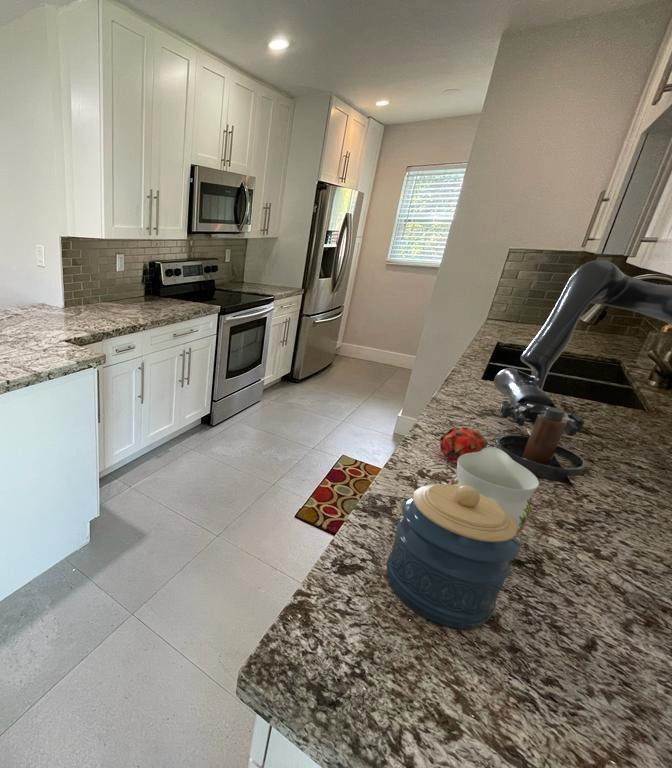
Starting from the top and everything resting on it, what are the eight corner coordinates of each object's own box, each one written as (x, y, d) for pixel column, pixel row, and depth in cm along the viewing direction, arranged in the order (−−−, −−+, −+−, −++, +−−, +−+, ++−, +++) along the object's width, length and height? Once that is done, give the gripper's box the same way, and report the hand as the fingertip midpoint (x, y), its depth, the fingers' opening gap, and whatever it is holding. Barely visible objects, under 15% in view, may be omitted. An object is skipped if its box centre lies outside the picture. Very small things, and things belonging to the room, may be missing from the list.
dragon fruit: (470, 459, 97) (448, 482, 91) (442, 430, 100) (419, 450, 94) (503, 443, 91) (482, 467, 84) (472, 413, 94) (450, 434, 87)
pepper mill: (545, 460, 93) (567, 408, 89) (551, 470, 90) (574, 416, 85) (519, 454, 96) (538, 403, 91) (523, 463, 92) (544, 411, 87)
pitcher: (430, 557, 65) (454, 484, 60) (437, 501, 79) (457, 438, 74) (519, 591, 59) (553, 513, 54) (509, 524, 73) (536, 457, 68)
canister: (514, 619, 55) (563, 510, 49) (440, 643, 51) (482, 530, 45) (429, 550, 66) (460, 456, 60) (364, 566, 63) (389, 467, 57)
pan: (568, 459, 95) (573, 445, 94) (590, 492, 83) (597, 477, 82) (487, 442, 103) (492, 429, 101) (497, 470, 90) (502, 456, 89)
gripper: (499, 383, 106) (511, 404, 93) (573, 395, 99) (597, 419, 86) (490, 410, 108) (501, 433, 95) (562, 423, 102) (583, 450, 88)
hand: (546, 426), depth 91 cm, fingers open, 8 cm apart
